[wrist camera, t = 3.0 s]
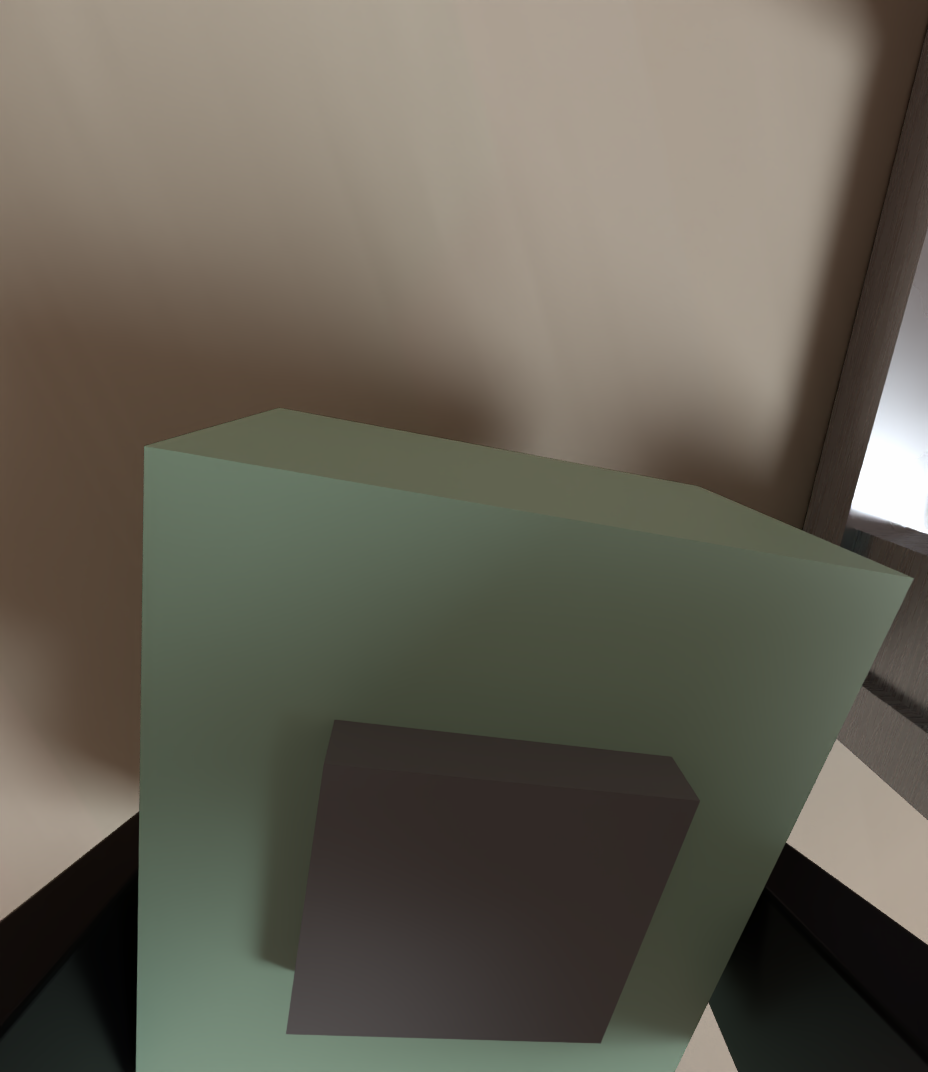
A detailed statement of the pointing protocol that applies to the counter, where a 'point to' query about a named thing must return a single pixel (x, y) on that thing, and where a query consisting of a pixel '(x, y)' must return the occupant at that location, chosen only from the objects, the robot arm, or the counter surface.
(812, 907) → the robot arm
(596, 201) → the counter surface
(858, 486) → the chassis
